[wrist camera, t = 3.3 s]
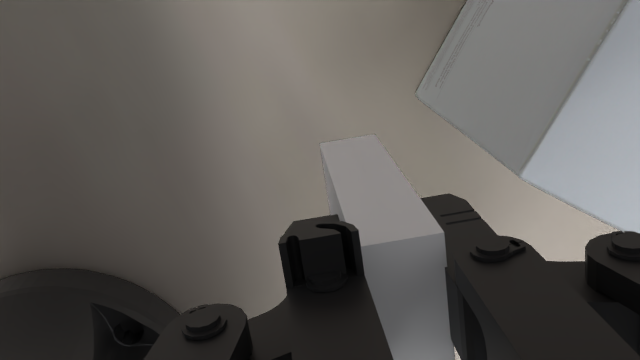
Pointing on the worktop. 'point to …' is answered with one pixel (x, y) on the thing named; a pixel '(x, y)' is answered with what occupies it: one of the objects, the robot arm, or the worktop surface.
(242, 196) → the worktop surface
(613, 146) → the supplement box
